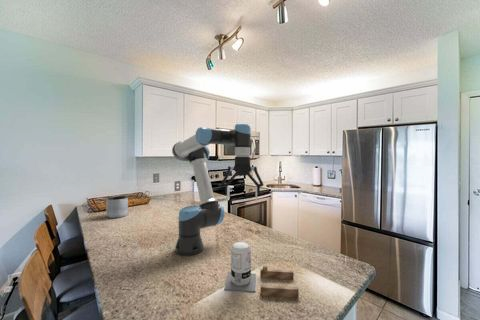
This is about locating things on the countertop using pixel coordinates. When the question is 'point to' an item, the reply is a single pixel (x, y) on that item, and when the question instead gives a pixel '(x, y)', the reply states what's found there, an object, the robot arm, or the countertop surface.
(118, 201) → the planter
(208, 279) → the countertop surface
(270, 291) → the cradle
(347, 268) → the countertop surface
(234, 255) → the supplement can
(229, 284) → the mat
